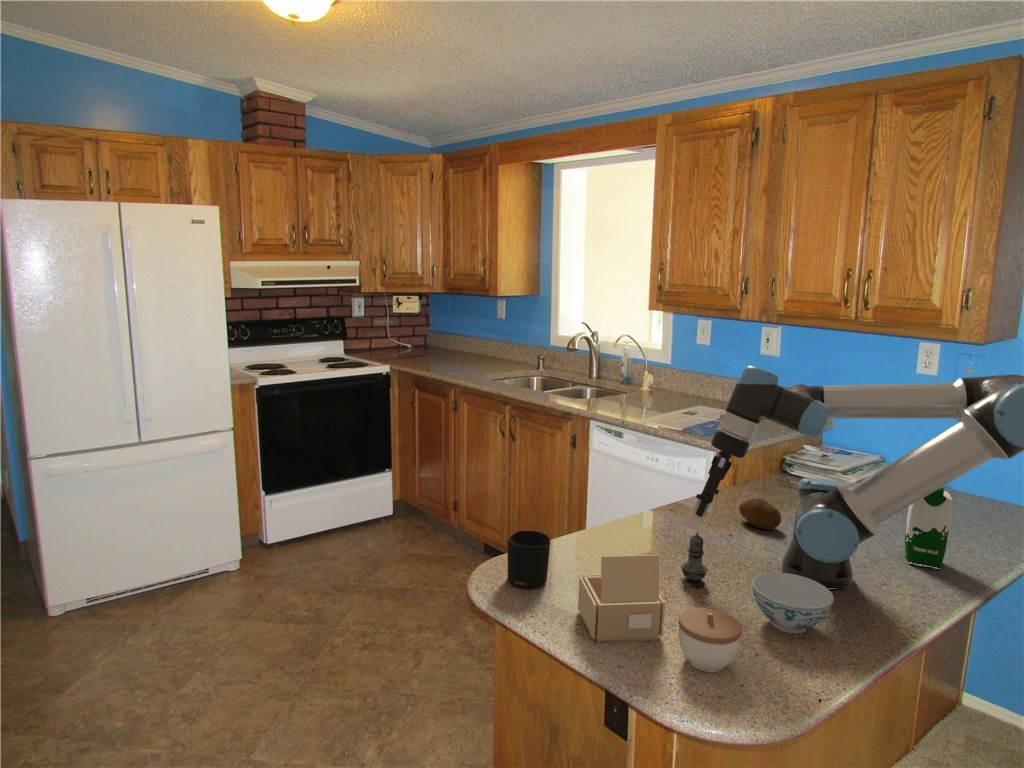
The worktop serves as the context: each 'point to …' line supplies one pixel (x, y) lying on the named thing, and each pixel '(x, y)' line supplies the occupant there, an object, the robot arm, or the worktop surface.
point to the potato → (760, 513)
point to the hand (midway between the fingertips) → (695, 523)
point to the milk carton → (928, 529)
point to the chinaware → (791, 600)
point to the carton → (618, 615)
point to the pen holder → (528, 559)
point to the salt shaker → (694, 564)
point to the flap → (629, 578)
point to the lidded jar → (709, 638)
